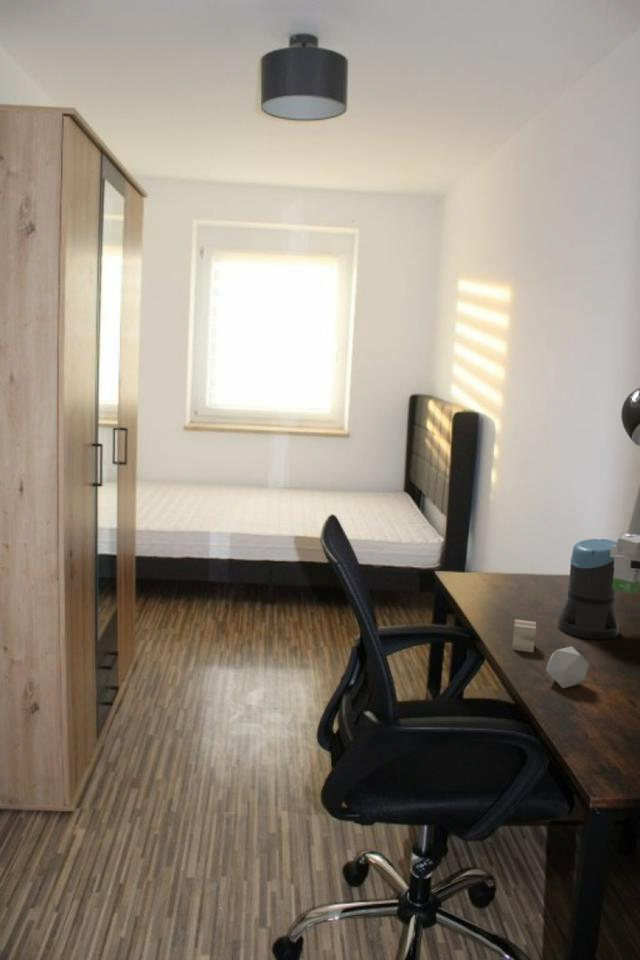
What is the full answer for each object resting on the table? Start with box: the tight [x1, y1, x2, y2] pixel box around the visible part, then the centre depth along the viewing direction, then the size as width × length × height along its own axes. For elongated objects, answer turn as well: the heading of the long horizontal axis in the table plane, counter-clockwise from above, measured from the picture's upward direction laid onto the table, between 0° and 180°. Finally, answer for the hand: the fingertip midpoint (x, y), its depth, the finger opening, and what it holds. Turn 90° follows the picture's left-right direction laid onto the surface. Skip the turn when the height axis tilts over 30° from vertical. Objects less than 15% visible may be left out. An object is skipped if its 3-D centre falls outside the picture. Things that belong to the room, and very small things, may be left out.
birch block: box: [511, 619, 537, 653], centre depth 201 cm, size 5×5×6 cm
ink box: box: [612, 534, 640, 595], centre depth 187 cm, size 9×5×12 cm, turn 134°
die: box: [545, 645, 590, 689], centre depth 180 cm, size 8×9×10 cm
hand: (612, 556), depth 188 cm, fingers closed on ink box, 9 cm apart
